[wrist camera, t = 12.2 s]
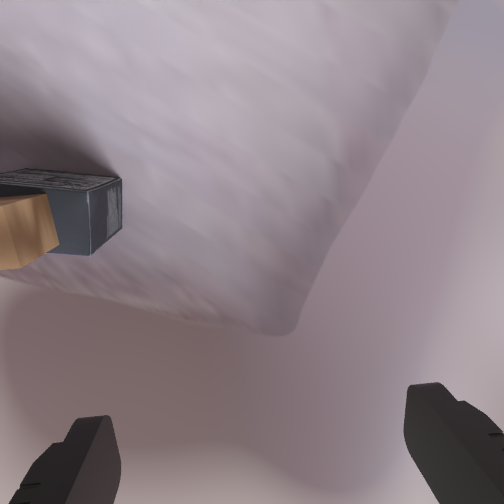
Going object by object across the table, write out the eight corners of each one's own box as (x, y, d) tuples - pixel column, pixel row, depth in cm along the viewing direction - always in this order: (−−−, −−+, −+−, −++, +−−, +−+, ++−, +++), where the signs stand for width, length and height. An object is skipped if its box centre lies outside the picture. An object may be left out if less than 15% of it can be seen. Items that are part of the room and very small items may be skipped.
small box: (29, 224, 40) (-37, 251, 30) (24, 167, 38) (-48, 175, 28) (123, 232, 41) (90, 260, 31) (122, 176, 39) (87, 187, 29)
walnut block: (-9, 197, 28) (-68, 211, 23) (46, 193, 29) (2, 205, 23) (7, 249, 30) (-45, 274, 24) (59, 244, 30) (20, 268, 24)
